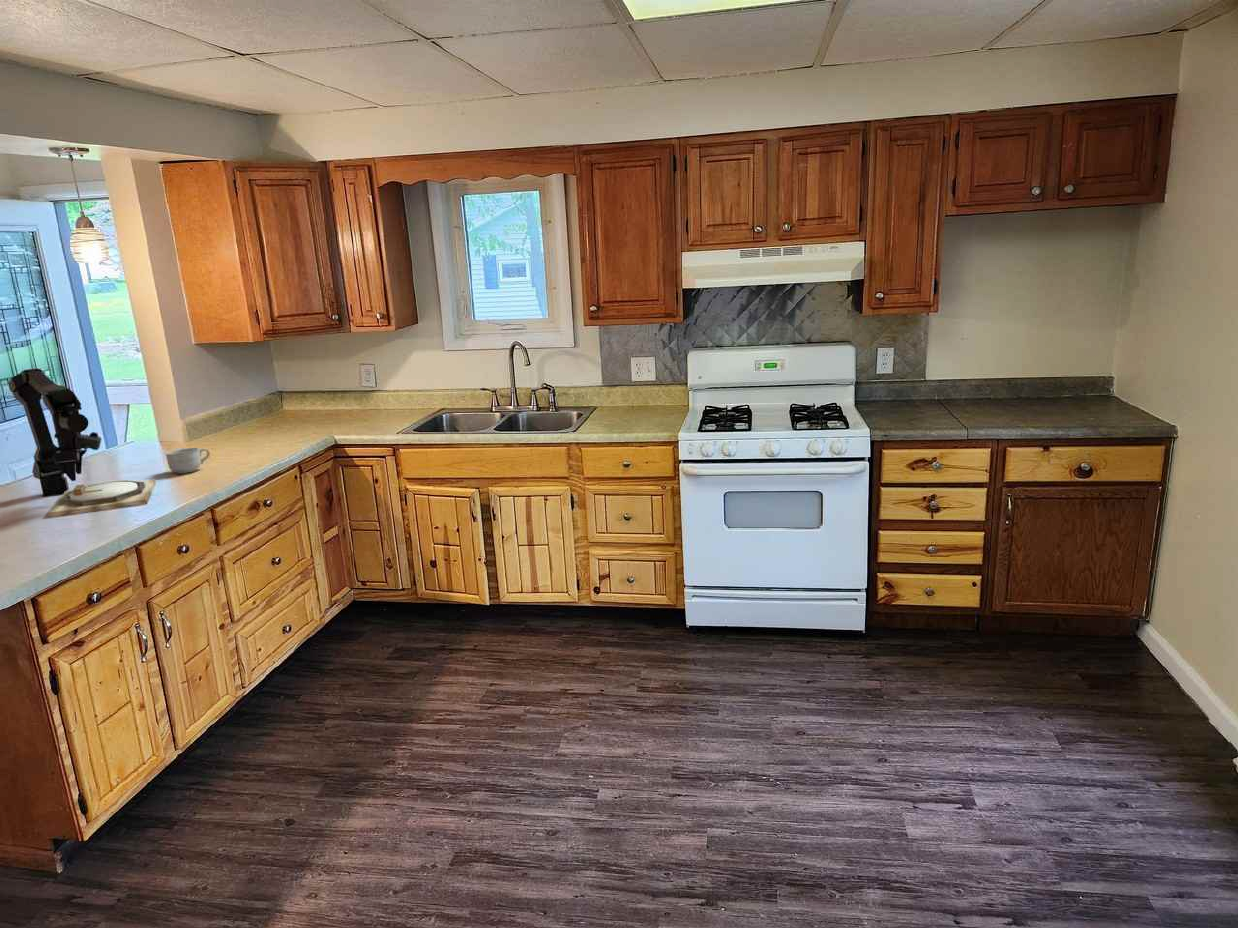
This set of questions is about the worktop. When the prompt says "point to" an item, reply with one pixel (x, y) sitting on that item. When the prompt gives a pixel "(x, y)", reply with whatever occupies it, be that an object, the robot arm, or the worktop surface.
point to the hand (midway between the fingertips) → (76, 477)
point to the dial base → (103, 500)
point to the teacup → (186, 459)
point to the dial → (102, 490)
